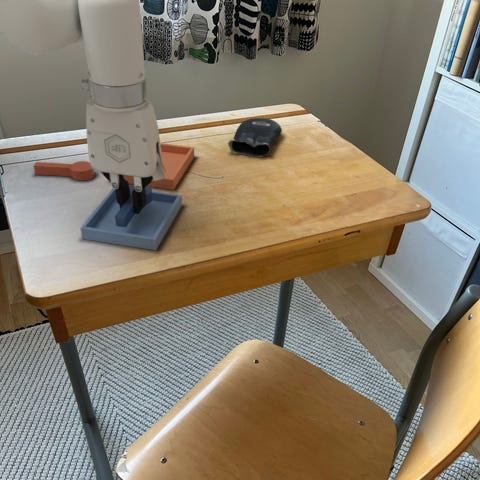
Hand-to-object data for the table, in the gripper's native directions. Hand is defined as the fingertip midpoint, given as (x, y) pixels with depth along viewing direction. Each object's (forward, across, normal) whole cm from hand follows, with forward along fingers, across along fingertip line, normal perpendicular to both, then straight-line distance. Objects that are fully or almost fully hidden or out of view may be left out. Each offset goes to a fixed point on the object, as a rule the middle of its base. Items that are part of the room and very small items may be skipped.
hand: (132, 208), depth 83 cm
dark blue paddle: (0, 0, 0) cm, 0 cm away
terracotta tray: (+3, -3, +19) cm, 20 cm away
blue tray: (+3, 0, 0) cm, 3 cm away
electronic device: (+3, +14, +37) cm, 40 cm away
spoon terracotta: (+3, -18, +12) cm, 22 cm away
